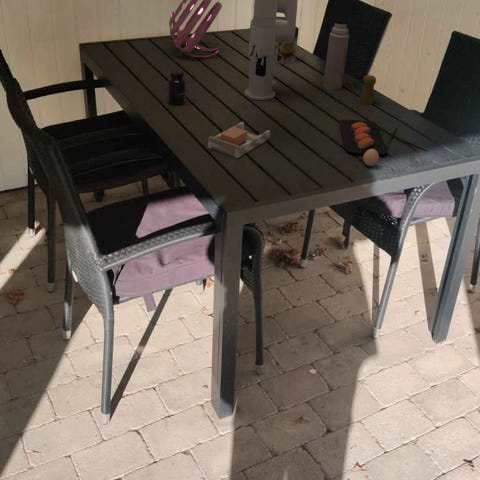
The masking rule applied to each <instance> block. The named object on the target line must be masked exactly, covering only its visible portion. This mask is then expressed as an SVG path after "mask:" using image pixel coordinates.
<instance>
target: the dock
mask: <svg viewBox="0 0 480 480" xmlns="http://www.w3.org/2000/svg"><path fill="white" fill-rule="evenodd" d="M232 127H237V128H240V129H243V130H245V122H244V121H241V122H239V123H237V124H236V125H234V126H232ZM232 127H230V128H228V129H226V130H225V131H227V130H229V129H231V128H232ZM225 131H222V132H221V133H223V132H225ZM221 133H219V134H217V135H214V136H211V135H210V136H209V137H208V145H207V148H208V149H210V150H213V151H216V152H219V153H222V154H225V155H227V156H231V157H234V158H237V159H238V158H240V157H242V156H244V155H245V154H247V153H248V152H251V150H253V149H255V148H257V147H258V146H260V145H261V144H264V143H265V142H267V141H269V140H270V138H271V130H266V131H264V132H263V133H260V134H259V135H257V134H254V133H251V132H248V133H247V140H246V142H245V143H240V144H239V145H235V144H232V143H229V142H226V141H223V140H220V139H221Z"/></svg>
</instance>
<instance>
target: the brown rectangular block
mask: <svg viewBox="0 0 480 480" xmlns="http://www.w3.org/2000/svg"><path fill="white" fill-rule="evenodd" d="M230 128H231V129H230ZM230 128H228V129H229V130H228V129H226V130H227V131H226V130H225V132H224V131H222V132H223V133H222V132H221V139H220V140H223V141H226V142H229V143H232V144H235V145H239V144H240V143H245V142H246V140H247V133H249V132H248V130H246V129H244V130H243V129H240V128H237V127H233V126H231V127H230Z"/></svg>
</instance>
